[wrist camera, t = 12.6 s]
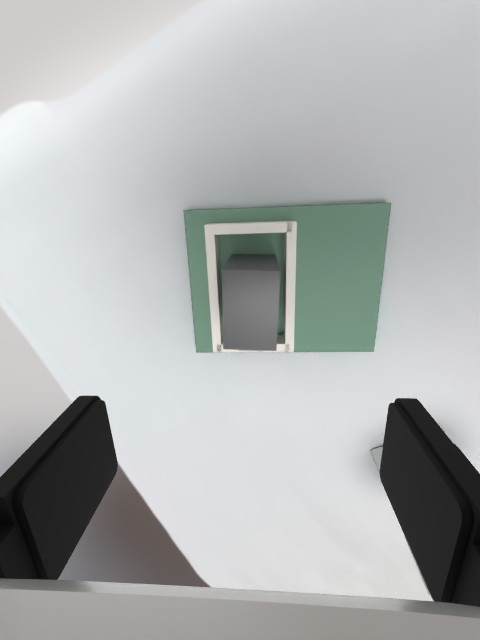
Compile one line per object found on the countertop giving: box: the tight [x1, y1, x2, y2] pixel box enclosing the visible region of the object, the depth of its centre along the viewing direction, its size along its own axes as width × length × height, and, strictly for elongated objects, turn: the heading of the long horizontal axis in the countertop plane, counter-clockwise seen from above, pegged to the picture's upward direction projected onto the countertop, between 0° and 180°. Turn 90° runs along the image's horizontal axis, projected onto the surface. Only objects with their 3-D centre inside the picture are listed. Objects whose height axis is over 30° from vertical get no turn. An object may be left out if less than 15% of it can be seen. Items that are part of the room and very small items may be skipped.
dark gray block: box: [222, 254, 281, 352], centre depth 27 cm, size 4×7×8 cm, turn 0°
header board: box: [184, 203, 391, 353], centre depth 29 cm, size 18×14×4 cm
